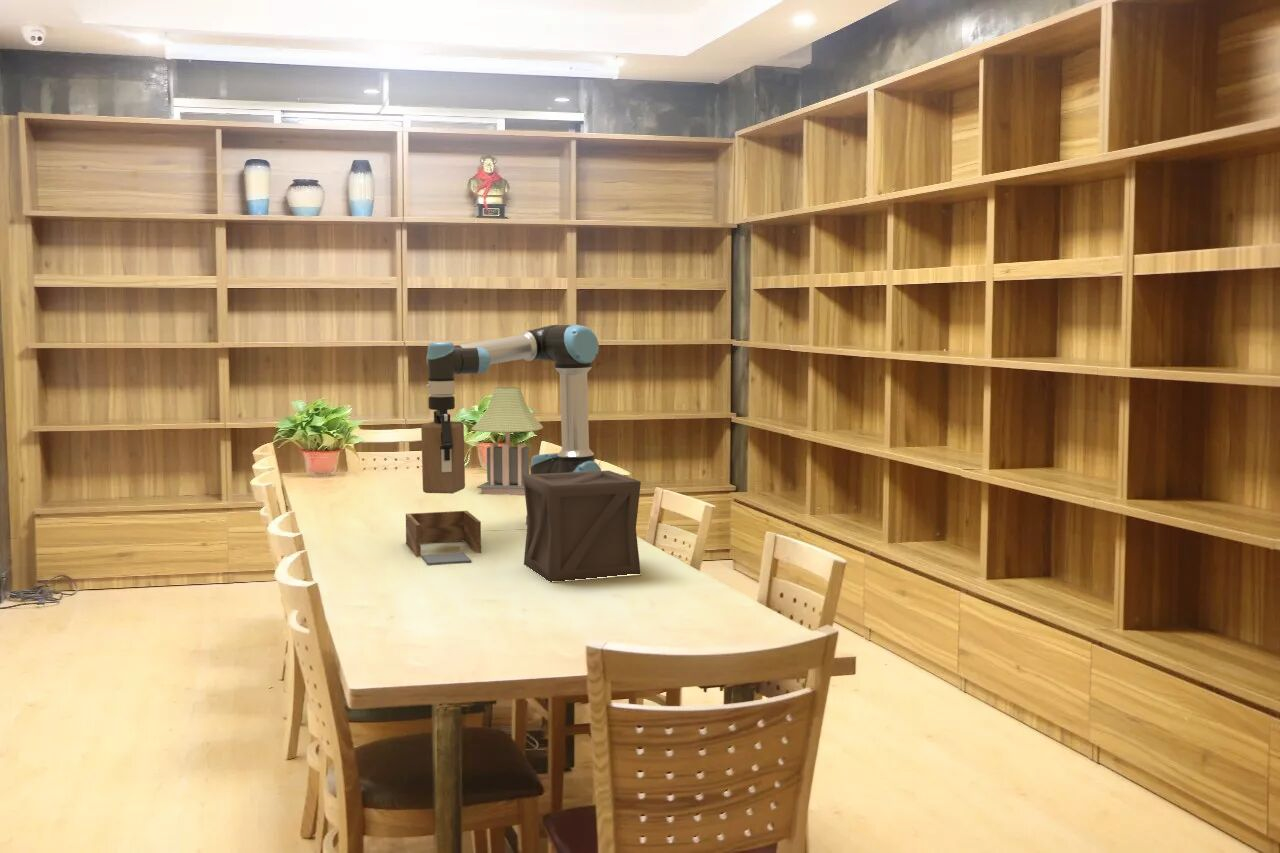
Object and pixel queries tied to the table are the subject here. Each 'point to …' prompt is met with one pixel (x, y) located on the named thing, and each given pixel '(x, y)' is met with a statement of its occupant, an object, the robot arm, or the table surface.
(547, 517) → the wooden crate
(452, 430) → the block
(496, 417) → the desk lamp
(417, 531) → the cubby
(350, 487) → the table surface
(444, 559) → the pad
